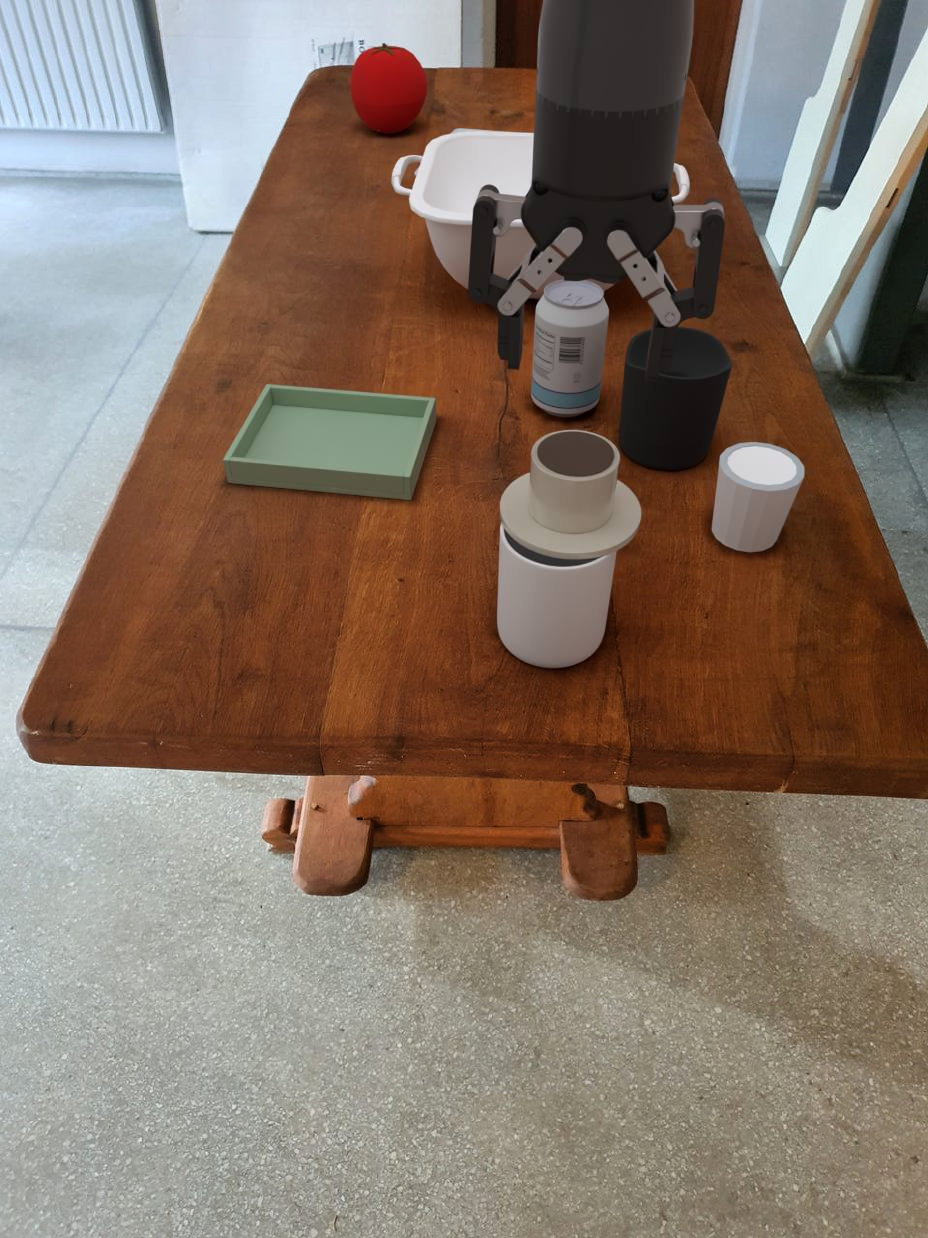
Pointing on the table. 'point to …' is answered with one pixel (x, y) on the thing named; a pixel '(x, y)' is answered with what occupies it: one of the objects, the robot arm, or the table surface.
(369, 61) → the tomato
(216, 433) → the table surface
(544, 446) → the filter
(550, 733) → the table surface
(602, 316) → the beverage can
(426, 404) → the tray
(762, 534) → the white short cylinder
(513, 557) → the cup
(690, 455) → the pen holder
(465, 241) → the baking dish
